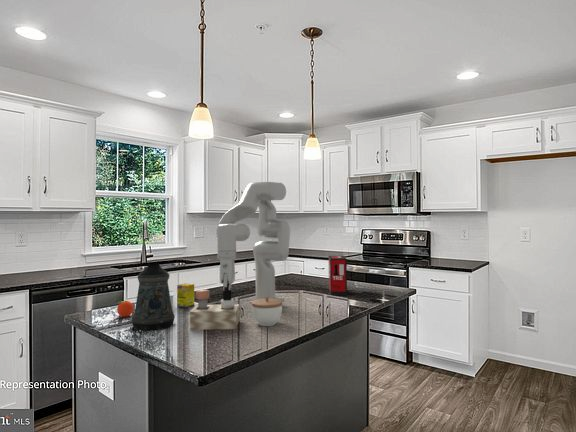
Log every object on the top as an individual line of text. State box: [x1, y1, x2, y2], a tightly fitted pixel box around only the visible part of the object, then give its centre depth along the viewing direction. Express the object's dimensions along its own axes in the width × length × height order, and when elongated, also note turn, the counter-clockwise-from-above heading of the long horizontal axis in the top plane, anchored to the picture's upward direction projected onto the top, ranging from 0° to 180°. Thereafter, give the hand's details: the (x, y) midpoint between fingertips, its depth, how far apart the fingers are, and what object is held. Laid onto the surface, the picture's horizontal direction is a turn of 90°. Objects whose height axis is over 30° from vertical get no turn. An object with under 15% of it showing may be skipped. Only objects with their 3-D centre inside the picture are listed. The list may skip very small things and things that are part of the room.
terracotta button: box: [195, 289, 210, 310], centre depth 162 cm, size 5×5×9 cm
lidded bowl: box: [251, 297, 283, 327], centre depth 163 cm, size 13×13×11 cm
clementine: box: [116, 300, 135, 318], centre depth 177 cm, size 8×7×7 cm
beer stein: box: [131, 262, 175, 332], centre depth 163 cm, size 16×19×25 cm
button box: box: [189, 303, 240, 331], centre depth 162 cm, size 18×12×7 cm, turn 91°
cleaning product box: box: [328, 255, 348, 296], centre depth 228 cm, size 16×9×20 cm, turn 178°
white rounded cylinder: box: [220, 298, 235, 309], centre depth 162 cm, size 5×5×9 cm
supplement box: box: [176, 282, 195, 309], centre depth 195 cm, size 6×6×11 cm
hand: (227, 299), depth 162 cm, fingers closed
